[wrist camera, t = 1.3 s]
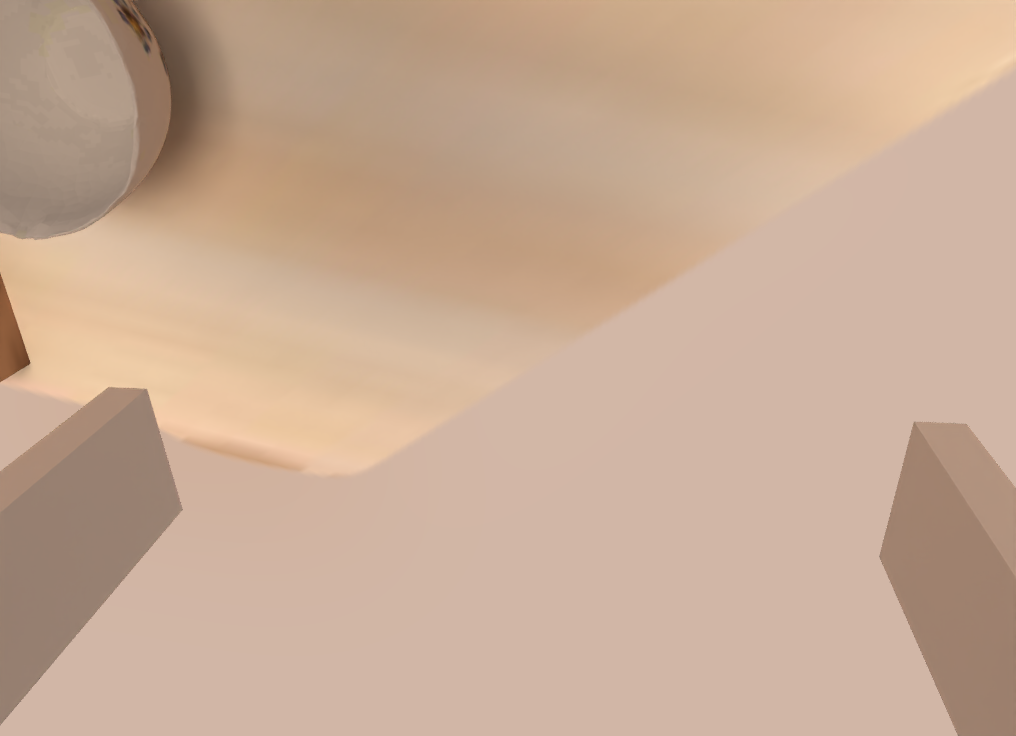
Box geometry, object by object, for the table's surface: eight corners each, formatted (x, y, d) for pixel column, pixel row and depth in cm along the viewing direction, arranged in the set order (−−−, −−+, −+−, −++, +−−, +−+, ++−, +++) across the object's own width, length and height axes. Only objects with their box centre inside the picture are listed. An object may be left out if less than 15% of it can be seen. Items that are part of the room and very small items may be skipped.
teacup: (259, 181, 38) (176, 224, 31) (53, 208, 41) (-67, 253, 34) (156, -166, 32) (22, -211, 25) (-82, -110, 34) (-265, -135, 27)
